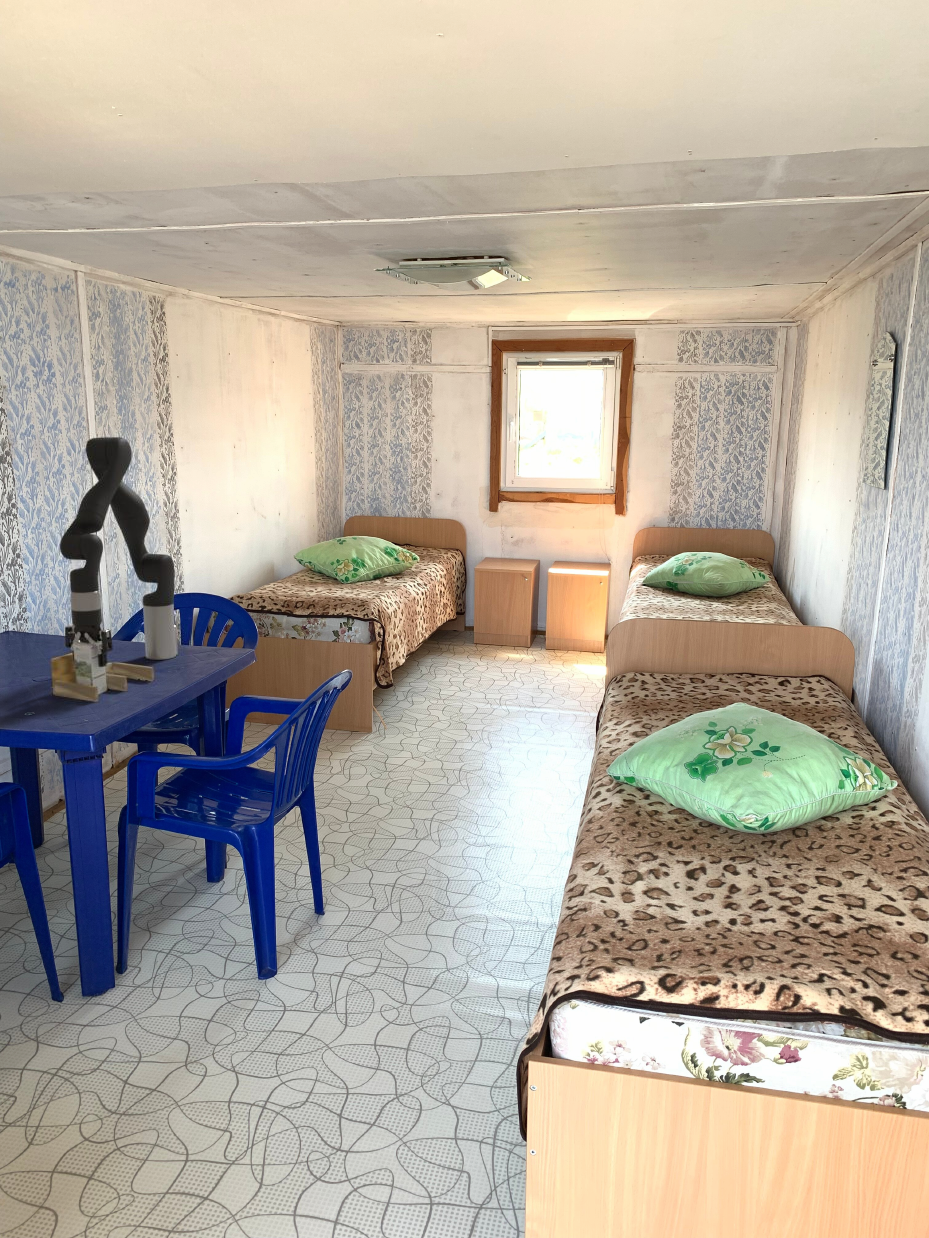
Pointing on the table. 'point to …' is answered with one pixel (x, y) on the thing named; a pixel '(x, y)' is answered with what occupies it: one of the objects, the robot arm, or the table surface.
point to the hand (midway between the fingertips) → (90, 664)
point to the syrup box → (89, 666)
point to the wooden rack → (69, 688)
